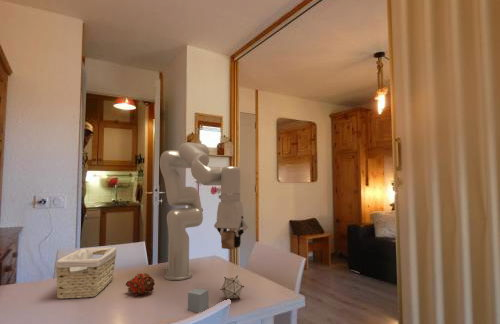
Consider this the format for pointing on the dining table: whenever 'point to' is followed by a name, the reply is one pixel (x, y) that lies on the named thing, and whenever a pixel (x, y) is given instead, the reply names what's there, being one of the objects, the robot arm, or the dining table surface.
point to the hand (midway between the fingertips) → (230, 245)
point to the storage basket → (85, 272)
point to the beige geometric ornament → (232, 287)
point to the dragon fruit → (141, 284)
